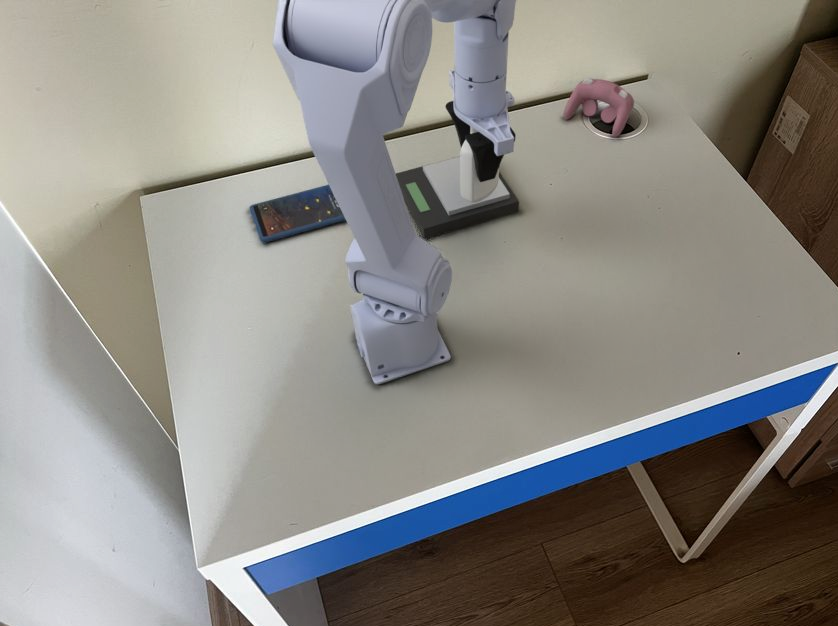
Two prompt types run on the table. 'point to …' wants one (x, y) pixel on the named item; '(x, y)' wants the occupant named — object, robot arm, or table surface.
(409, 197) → the scale
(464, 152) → the eye dropper bottle
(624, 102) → the video game controller
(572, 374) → the table surface
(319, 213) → the smartphone
